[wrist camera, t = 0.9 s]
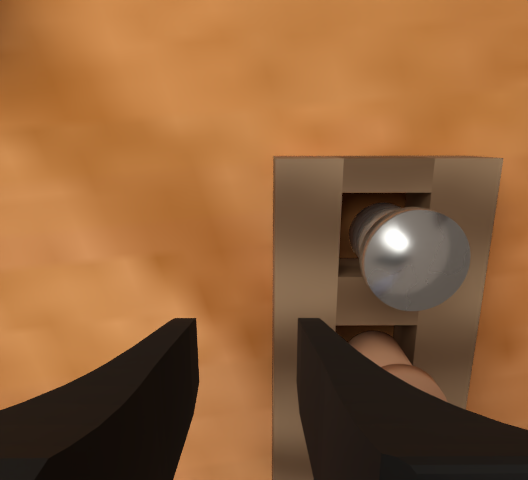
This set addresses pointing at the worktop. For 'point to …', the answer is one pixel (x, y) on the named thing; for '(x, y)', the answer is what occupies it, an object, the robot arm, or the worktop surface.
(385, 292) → the grey plug
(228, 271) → the worktop surface
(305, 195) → the walnut block
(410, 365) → the terracotta plug
